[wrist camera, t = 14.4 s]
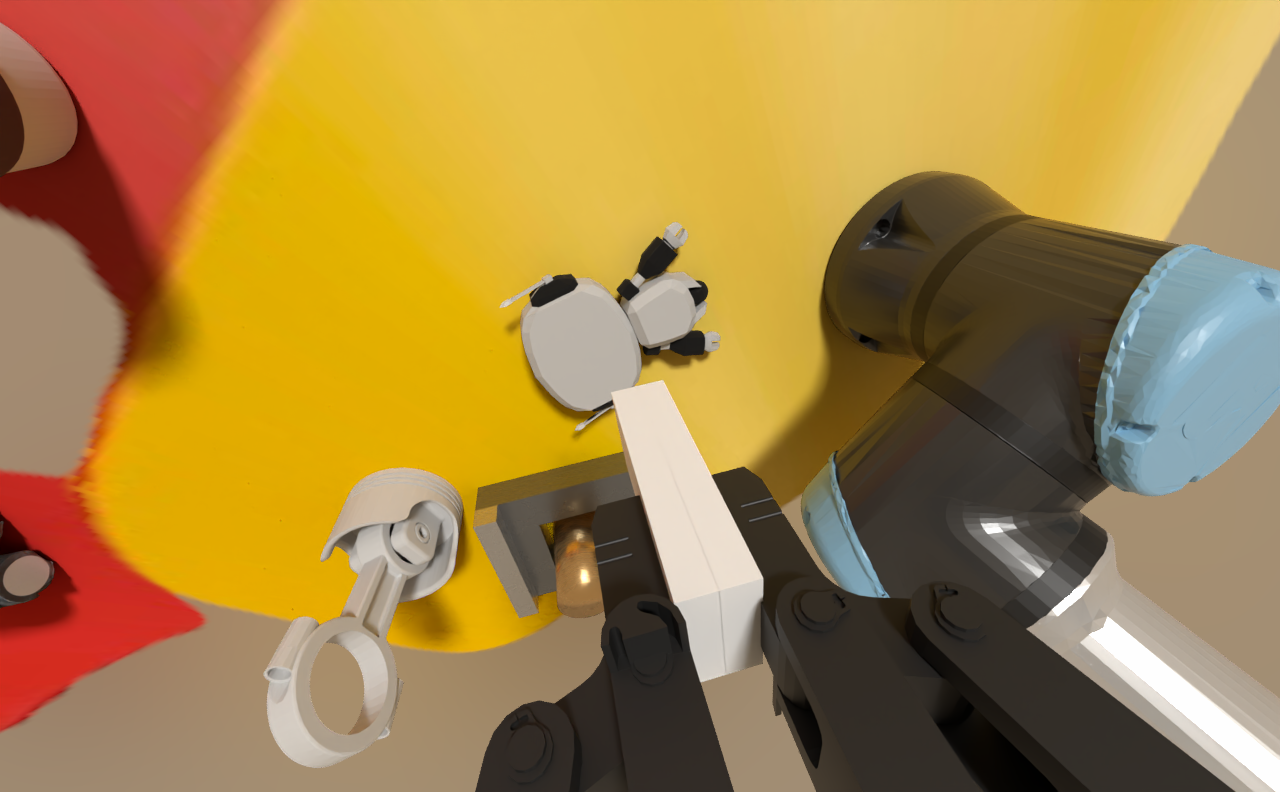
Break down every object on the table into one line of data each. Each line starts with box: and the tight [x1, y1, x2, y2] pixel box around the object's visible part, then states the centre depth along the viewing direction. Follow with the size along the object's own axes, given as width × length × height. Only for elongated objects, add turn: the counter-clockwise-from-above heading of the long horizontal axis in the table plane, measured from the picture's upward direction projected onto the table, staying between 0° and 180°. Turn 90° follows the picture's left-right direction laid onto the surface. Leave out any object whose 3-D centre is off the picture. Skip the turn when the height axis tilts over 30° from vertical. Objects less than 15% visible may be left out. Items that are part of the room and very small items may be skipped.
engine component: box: [264, 468, 463, 768], centre depth 35 cm, size 11×20×10 cm
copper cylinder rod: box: [553, 511, 604, 618], centre depth 44 cm, size 5×5×10 cm
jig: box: [473, 452, 635, 618], centre depth 46 cm, size 16×14×5 cm
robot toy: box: [500, 222, 720, 431], centre depth 36 cm, size 12×4×15 cm
